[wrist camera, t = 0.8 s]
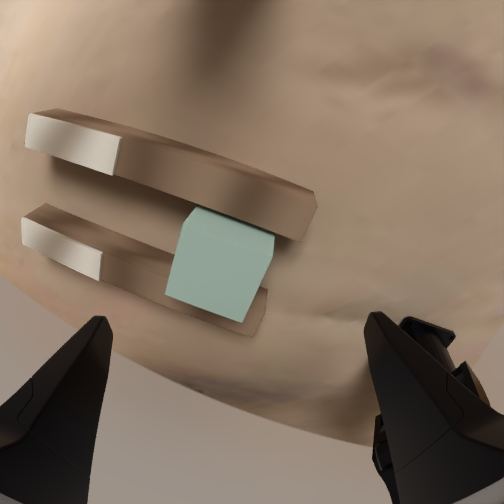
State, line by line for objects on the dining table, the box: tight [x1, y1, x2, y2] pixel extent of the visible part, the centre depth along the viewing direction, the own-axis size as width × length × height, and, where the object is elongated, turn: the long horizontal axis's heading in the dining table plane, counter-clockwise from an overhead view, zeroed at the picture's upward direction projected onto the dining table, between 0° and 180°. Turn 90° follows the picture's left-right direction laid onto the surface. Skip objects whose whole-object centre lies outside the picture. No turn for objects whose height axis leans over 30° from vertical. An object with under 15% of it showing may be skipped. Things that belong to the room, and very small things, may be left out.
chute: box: [21, 109, 318, 338], centre depth 20 cm, size 20×11×3 cm, turn 70°
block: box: [165, 204, 275, 323], centre depth 20 cm, size 5×5×5 cm
